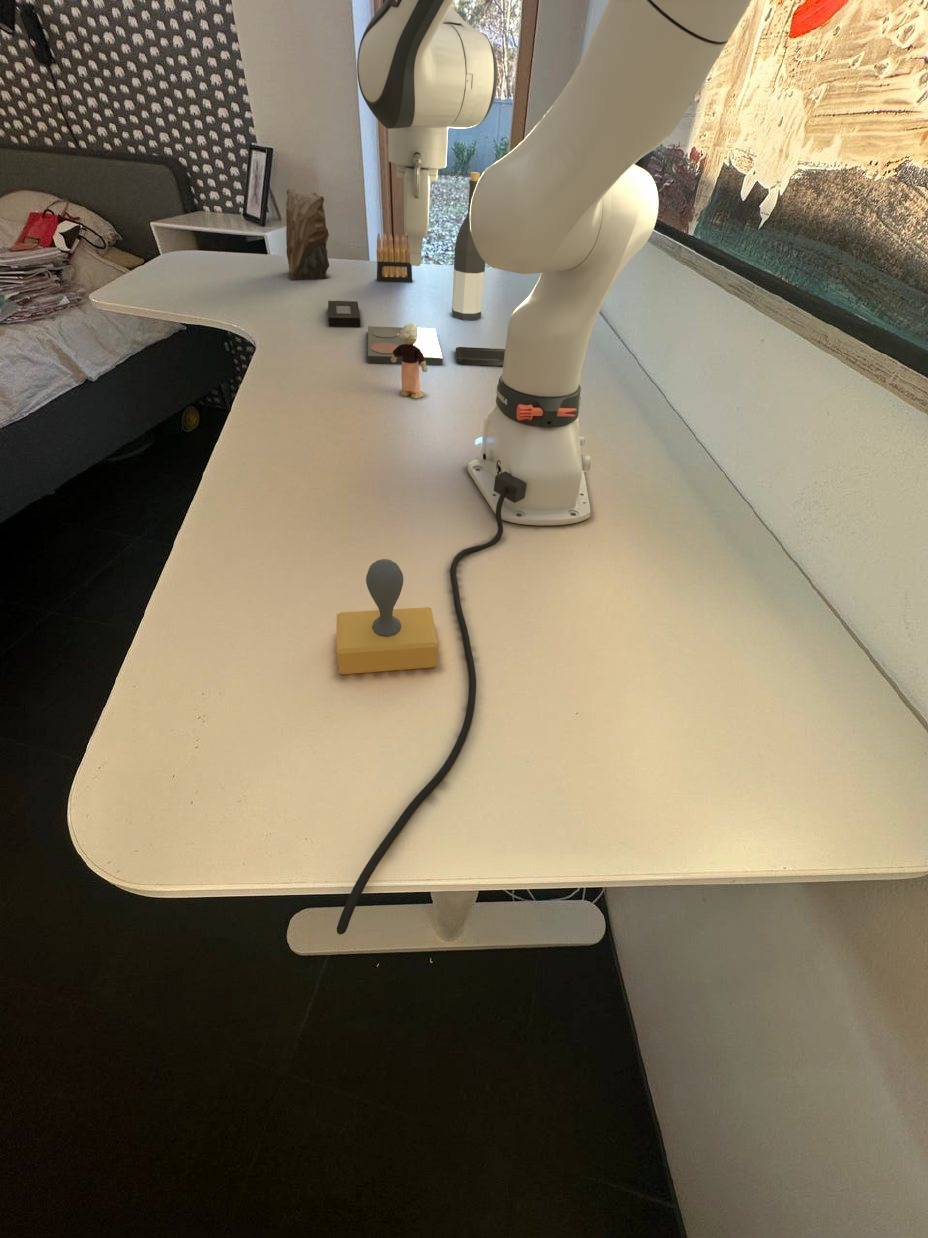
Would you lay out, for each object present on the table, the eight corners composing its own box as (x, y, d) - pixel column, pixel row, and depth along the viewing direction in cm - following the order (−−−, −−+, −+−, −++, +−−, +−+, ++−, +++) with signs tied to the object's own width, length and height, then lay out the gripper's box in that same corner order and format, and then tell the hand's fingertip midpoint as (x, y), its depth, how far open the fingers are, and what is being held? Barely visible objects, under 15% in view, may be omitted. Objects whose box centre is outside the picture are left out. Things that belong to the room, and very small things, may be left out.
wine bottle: (447, 317, 144) (454, 171, 124) (455, 309, 150) (462, 169, 129) (477, 321, 143) (488, 175, 123) (484, 313, 149) (495, 172, 128)
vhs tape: (329, 326, 133) (328, 317, 131) (328, 309, 143) (328, 300, 141) (360, 327, 134) (360, 318, 132) (358, 309, 144) (357, 301, 142)
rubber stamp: (430, 629, 61) (433, 541, 52) (437, 669, 57) (441, 580, 48) (339, 635, 59) (328, 545, 51) (339, 676, 55) (327, 586, 47)
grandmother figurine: (431, 393, 108) (433, 323, 99) (425, 401, 105) (426, 329, 96) (394, 387, 109) (393, 317, 100) (387, 394, 106) (385, 322, 97)
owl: (289, 269, 169) (278, 187, 155) (330, 270, 171) (324, 189, 157) (289, 279, 160) (277, 194, 146) (333, 280, 163) (326, 196, 149)
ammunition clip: (377, 281, 166) (375, 233, 158) (376, 279, 167) (375, 232, 159) (412, 282, 168) (412, 235, 160) (411, 280, 169) (411, 233, 161)
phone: (455, 346, 125) (519, 349, 126) (455, 351, 126) (519, 354, 127) (457, 358, 119) (525, 361, 121) (457, 364, 120) (524, 367, 121)
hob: (442, 365, 119) (442, 357, 118) (368, 363, 117) (367, 355, 116) (434, 335, 133) (434, 327, 132) (368, 332, 131) (367, 325, 130)
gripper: (440, 160, 75) (435, 275, 85) (436, 144, 89) (433, 244, 99) (394, 155, 74) (394, 272, 84) (398, 140, 89) (398, 241, 98)
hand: (415, 257), depth 92 cm, fingers open, 8 cm apart
